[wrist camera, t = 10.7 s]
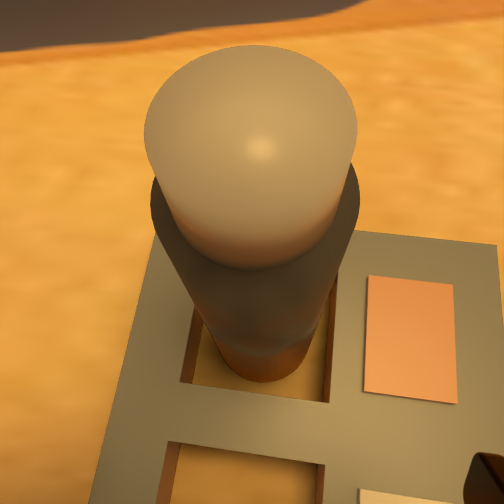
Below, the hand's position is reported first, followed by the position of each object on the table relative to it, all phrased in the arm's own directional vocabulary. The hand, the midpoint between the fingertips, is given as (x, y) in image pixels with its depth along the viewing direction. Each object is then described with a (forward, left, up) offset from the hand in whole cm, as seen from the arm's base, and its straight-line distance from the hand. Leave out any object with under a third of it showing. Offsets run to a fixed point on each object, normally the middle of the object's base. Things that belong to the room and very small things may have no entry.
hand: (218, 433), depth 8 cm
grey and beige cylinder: (+4, 0, -11) cm, 11 cm away
